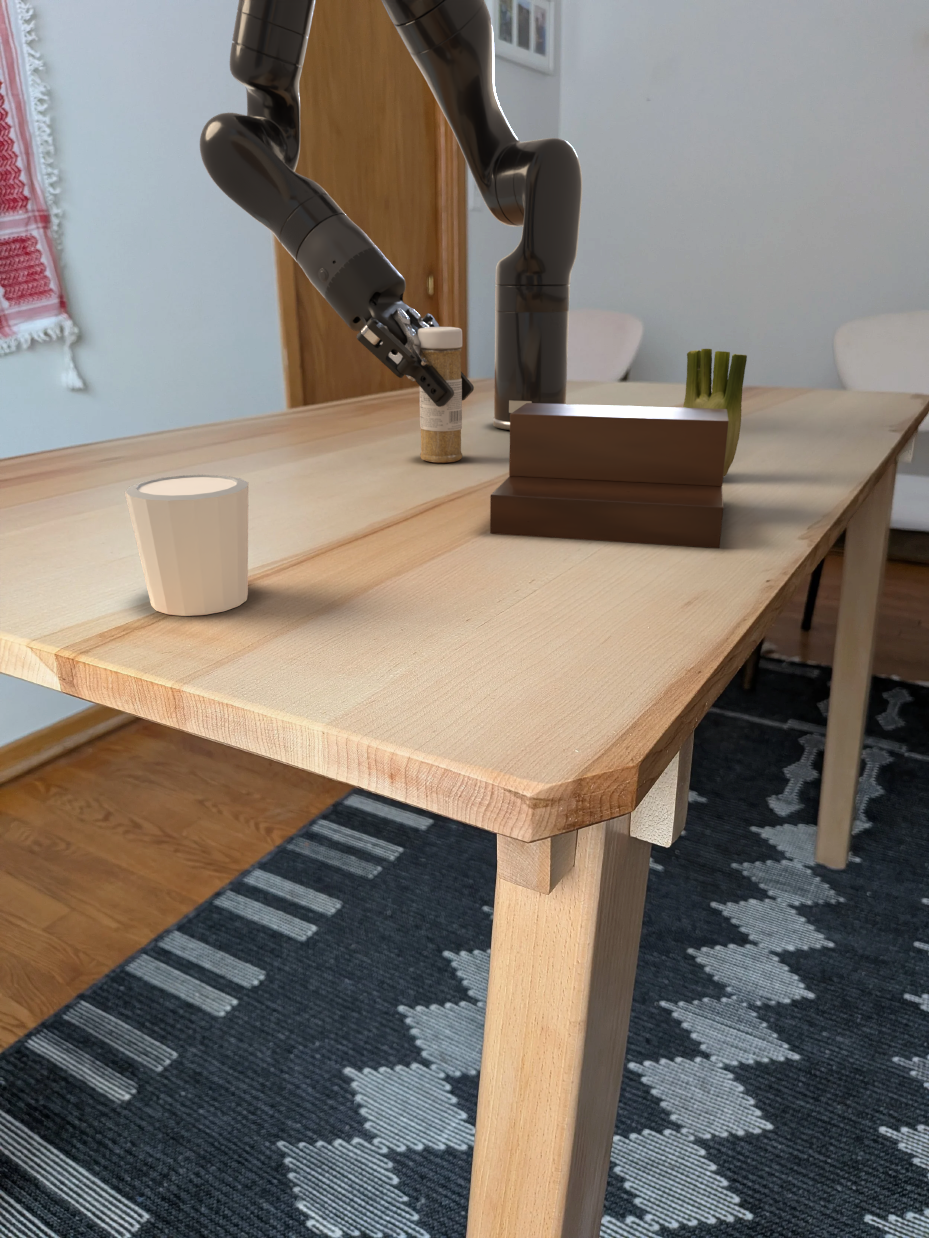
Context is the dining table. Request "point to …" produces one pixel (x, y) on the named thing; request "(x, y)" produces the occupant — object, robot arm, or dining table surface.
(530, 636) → the dining table surface
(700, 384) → the fennel bulb
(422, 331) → the spice jar
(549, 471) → the step rack
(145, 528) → the cream cup
